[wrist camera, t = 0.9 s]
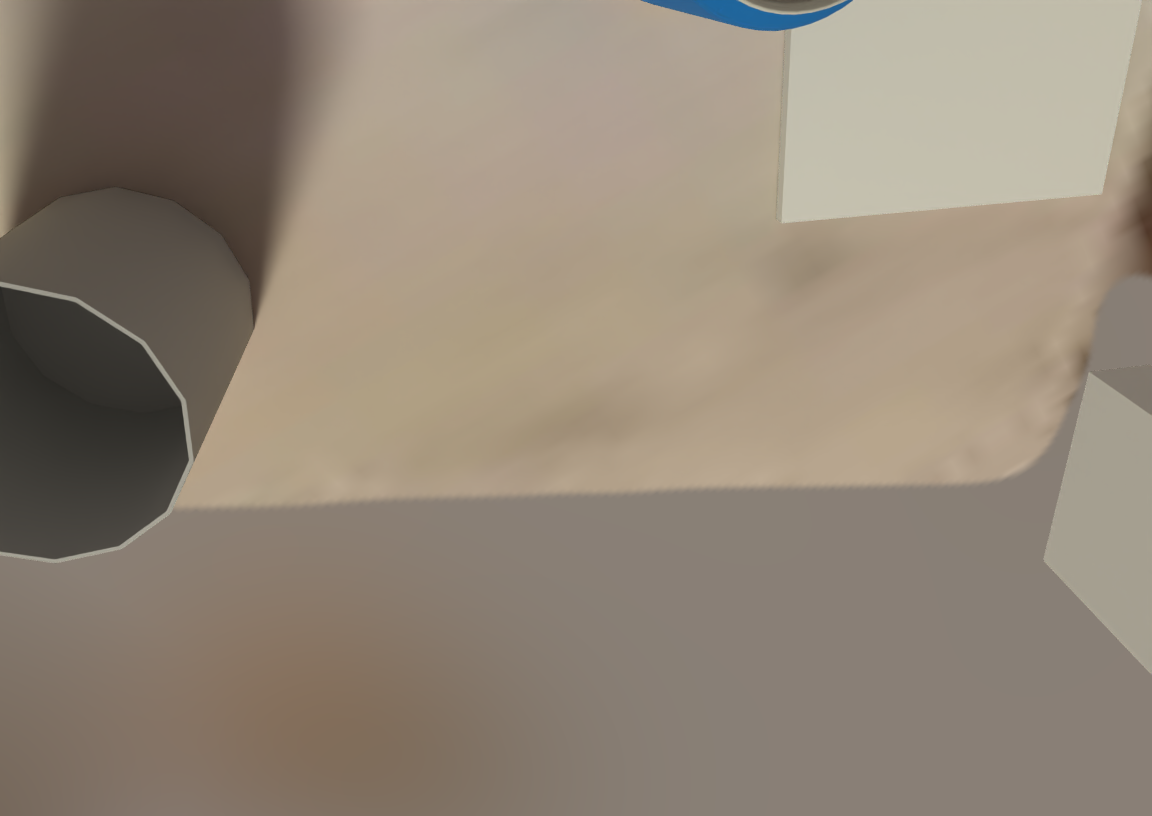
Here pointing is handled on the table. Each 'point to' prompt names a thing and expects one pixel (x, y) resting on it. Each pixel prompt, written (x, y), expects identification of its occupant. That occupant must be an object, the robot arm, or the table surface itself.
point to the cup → (109, 367)
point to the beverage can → (758, 11)
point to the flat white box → (950, 104)
